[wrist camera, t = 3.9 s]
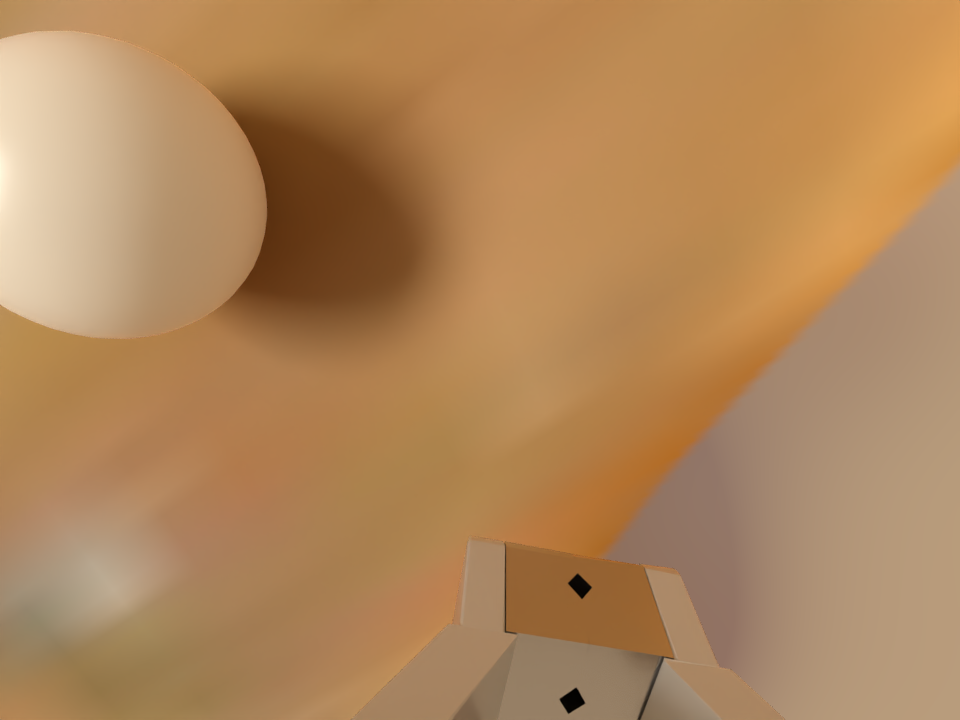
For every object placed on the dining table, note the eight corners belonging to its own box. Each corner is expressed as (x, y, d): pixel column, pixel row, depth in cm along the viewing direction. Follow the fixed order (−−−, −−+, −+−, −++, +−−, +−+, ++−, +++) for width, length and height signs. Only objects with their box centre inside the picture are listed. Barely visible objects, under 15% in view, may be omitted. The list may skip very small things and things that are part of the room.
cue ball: (245, 340, 14) (103, 441, 9) (44, 221, 14) (-238, 259, 8) (344, 155, 13) (238, 151, 8) (123, 5, 12) (-168, -115, 7)
